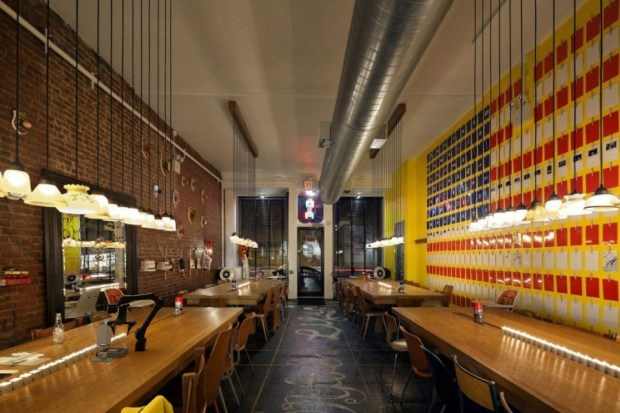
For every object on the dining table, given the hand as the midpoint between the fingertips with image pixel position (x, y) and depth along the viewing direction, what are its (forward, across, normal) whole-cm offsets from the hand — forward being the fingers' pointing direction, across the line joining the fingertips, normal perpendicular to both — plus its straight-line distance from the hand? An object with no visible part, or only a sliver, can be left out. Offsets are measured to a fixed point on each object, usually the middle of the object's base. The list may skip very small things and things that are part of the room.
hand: (120, 335), depth 276 cm
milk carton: (+12, -19, +20) cm, 30 cm away
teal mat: (+11, -4, -20) cm, 23 cm away
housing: (+12, -2, -7) cm, 14 cm away
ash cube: (+11, -4, -20) cm, 23 cm away
